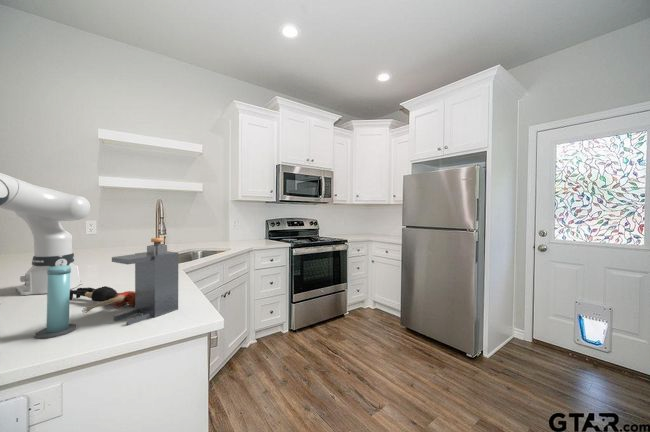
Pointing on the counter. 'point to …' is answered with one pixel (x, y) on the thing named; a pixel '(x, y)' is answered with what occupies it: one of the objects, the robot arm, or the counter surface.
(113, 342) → the counter surface
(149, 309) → the housing
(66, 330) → the pad
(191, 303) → the counter surface
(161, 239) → the plunger
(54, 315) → the cartridge
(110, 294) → the figurine
